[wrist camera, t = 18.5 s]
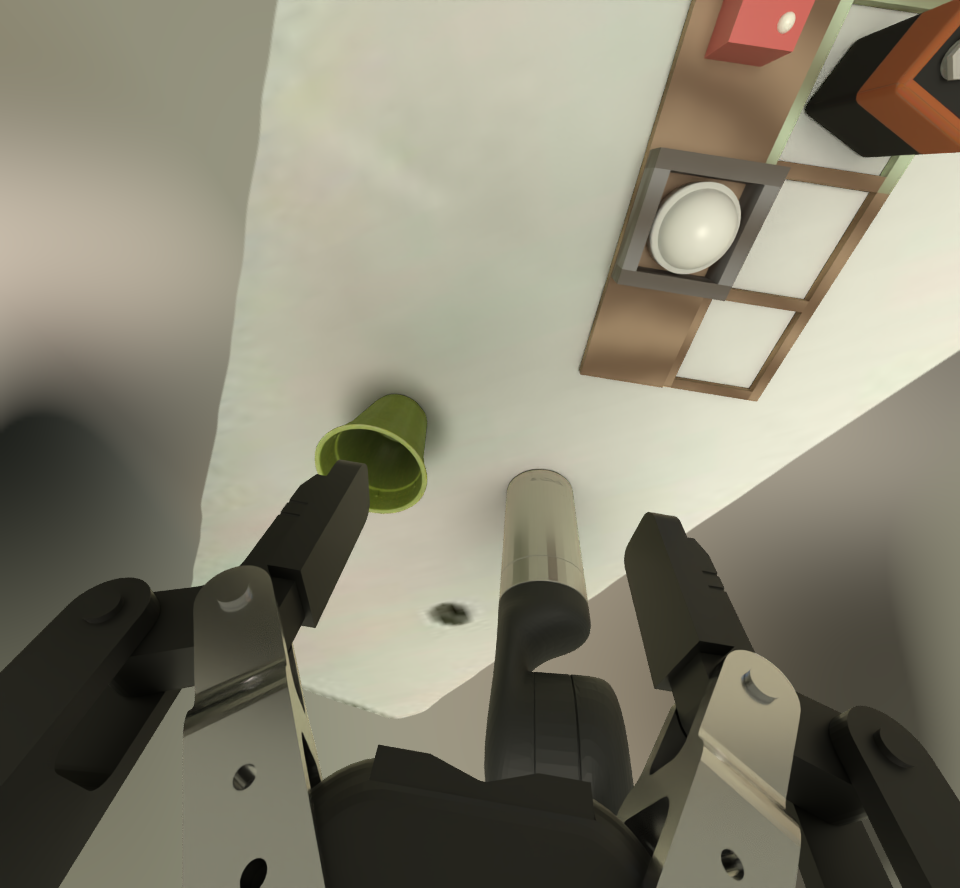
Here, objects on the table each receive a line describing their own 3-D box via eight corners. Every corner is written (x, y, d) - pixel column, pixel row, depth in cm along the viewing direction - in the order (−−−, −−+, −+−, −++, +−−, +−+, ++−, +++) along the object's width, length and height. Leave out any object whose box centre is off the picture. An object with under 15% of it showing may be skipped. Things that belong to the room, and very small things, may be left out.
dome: (703, 272, 34) (729, 287, 30) (633, 261, 34) (649, 274, 30) (740, 188, 30) (778, 190, 26) (661, 175, 30) (685, 175, 26)
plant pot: (455, 449, 50) (439, 510, 41) (374, 458, 53) (342, 517, 44) (431, 368, 44) (406, 418, 35) (340, 382, 46) (293, 432, 37)
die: (760, 66, 26) (797, 49, 23) (703, 58, 26) (731, 39, 23) (795, -20, 24) (842, -55, 20) (733, -30, 24) (769, -66, 21)
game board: (753, 397, 42) (773, 417, 38) (579, 369, 42) (583, 386, 39) (1003, 1, 24) (1080, -27, 21) (704, -43, 25) (732, -78, 21)
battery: (857, 35, 26) (1006, -29, 18) (924, 92, 27) (1092, 57, 19) (799, 111, 28) (907, 85, 20) (863, 160, 30) (989, 155, 21)
